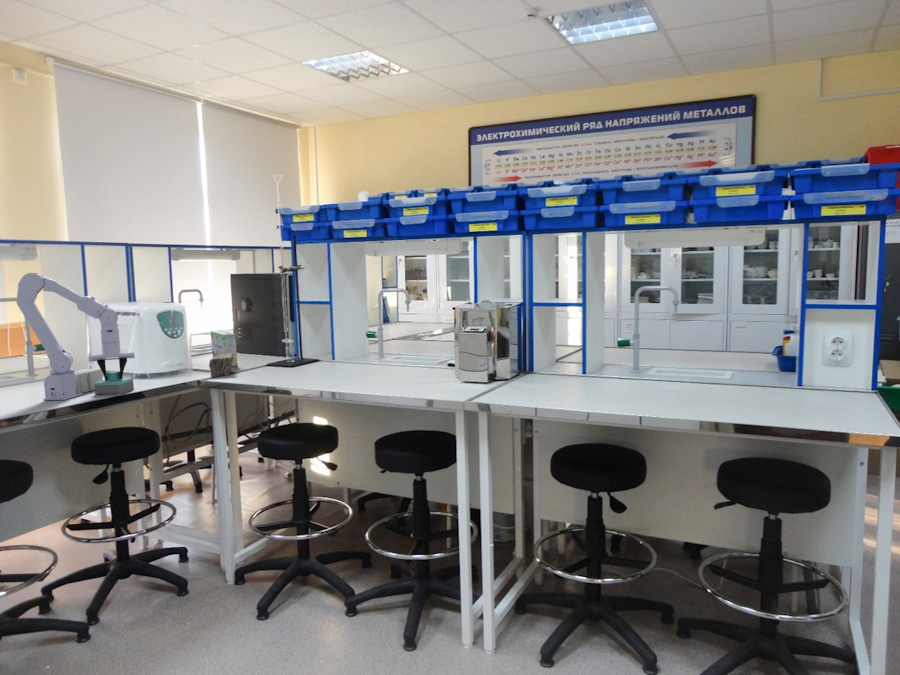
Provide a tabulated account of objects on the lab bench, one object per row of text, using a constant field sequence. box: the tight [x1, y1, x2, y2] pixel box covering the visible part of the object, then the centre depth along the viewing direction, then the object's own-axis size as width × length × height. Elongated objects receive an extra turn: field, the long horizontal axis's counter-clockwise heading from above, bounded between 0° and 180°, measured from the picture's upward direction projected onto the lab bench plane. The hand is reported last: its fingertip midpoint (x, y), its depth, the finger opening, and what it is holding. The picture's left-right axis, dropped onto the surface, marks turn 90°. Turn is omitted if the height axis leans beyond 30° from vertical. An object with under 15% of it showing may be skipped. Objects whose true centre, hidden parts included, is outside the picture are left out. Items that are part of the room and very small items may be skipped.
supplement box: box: [74, 368, 104, 394], centre depth 232 cm, size 7×7×13 cm
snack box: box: [210, 329, 238, 368], centre depth 290 cm, size 21×6×15 cm, turn 37°
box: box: [94, 380, 135, 395], centre depth 229 cm, size 9×9×4 cm
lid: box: [94, 371, 134, 385], centre depth 228 cm, size 9×9×4 cm
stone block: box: [208, 353, 233, 377], centre depth 265 cm, size 14×9×8 cm, turn 7°
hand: (113, 379), depth 228 cm, fingers closed on lid, 4 cm apart
